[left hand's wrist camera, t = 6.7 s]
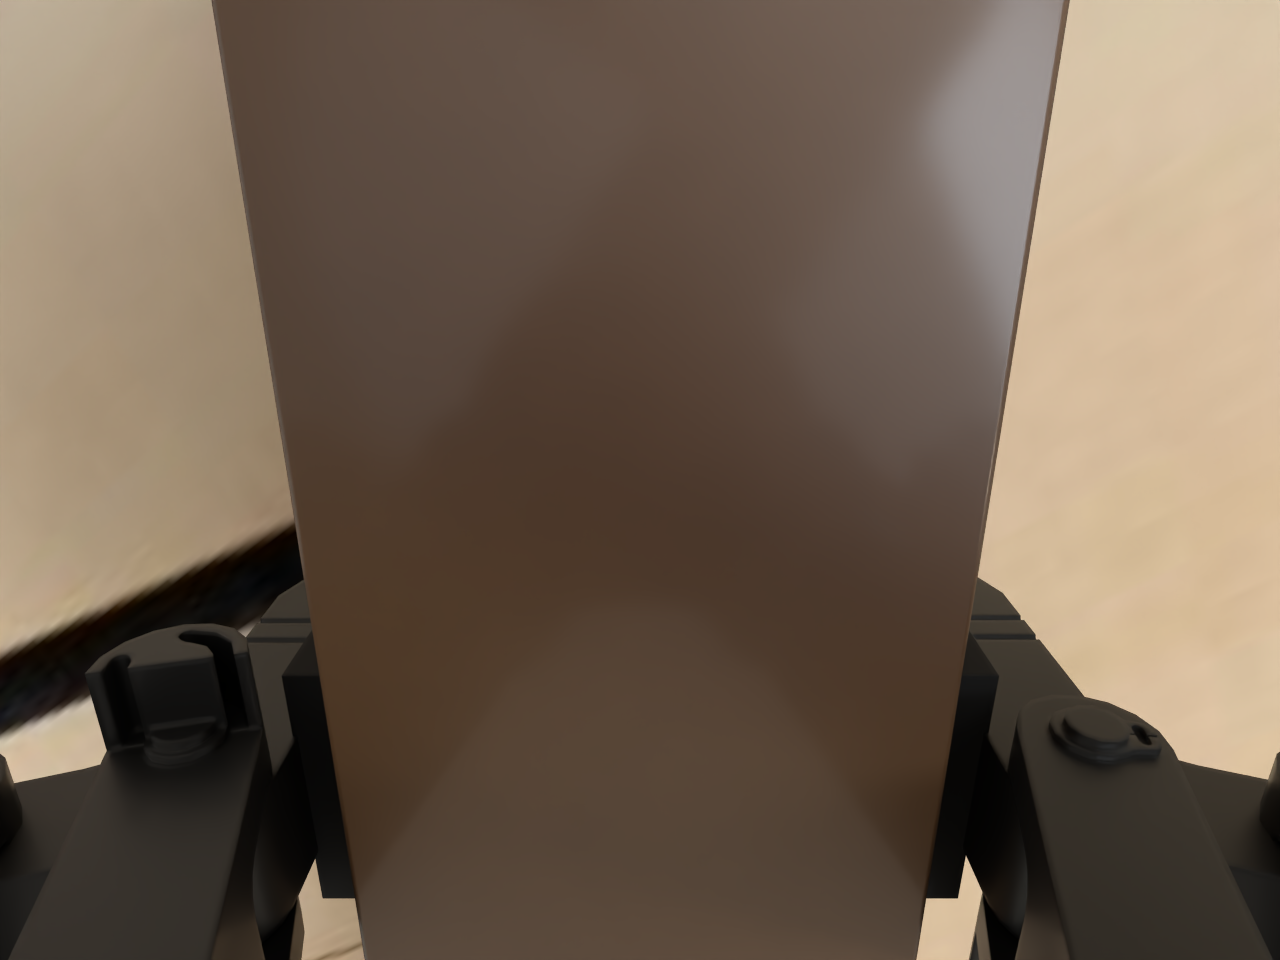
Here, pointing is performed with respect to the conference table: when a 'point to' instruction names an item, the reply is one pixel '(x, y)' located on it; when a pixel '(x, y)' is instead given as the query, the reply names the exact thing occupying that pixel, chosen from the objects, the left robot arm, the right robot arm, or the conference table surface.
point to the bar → (640, 445)
